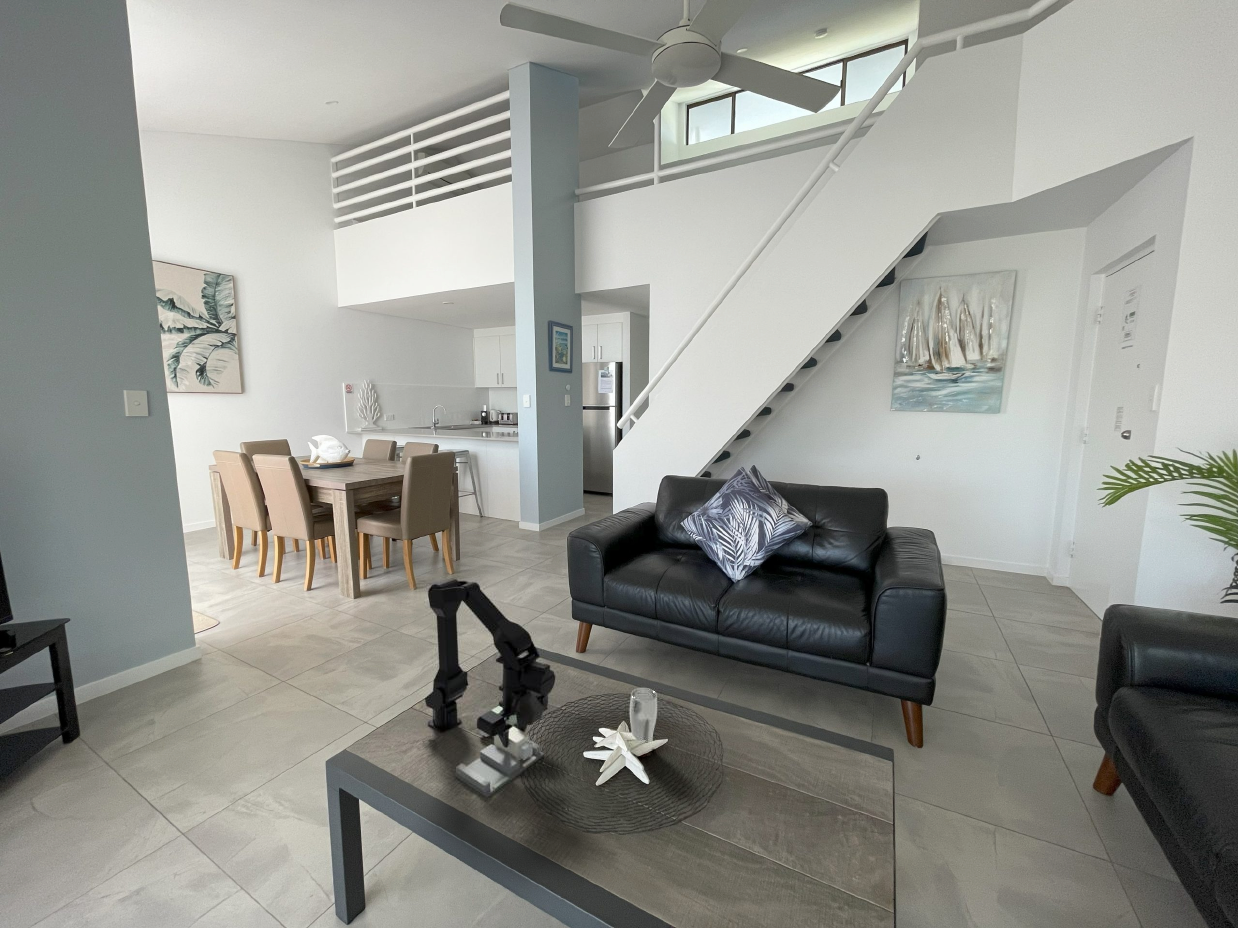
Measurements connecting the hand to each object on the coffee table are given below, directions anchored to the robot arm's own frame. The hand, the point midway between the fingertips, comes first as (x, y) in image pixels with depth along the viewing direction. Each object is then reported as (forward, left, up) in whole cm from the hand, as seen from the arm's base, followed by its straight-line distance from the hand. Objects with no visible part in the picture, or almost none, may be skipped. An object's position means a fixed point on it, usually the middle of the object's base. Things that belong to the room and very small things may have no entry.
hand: (513, 741), depth 129 cm
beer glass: (+24, +22, -4) cm, 32 cm away
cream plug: (0, 0, -3) cm, 3 cm away
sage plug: (-11, +5, -4) cm, 12 cm away
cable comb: (+1, -4, -4) cm, 6 cm away
